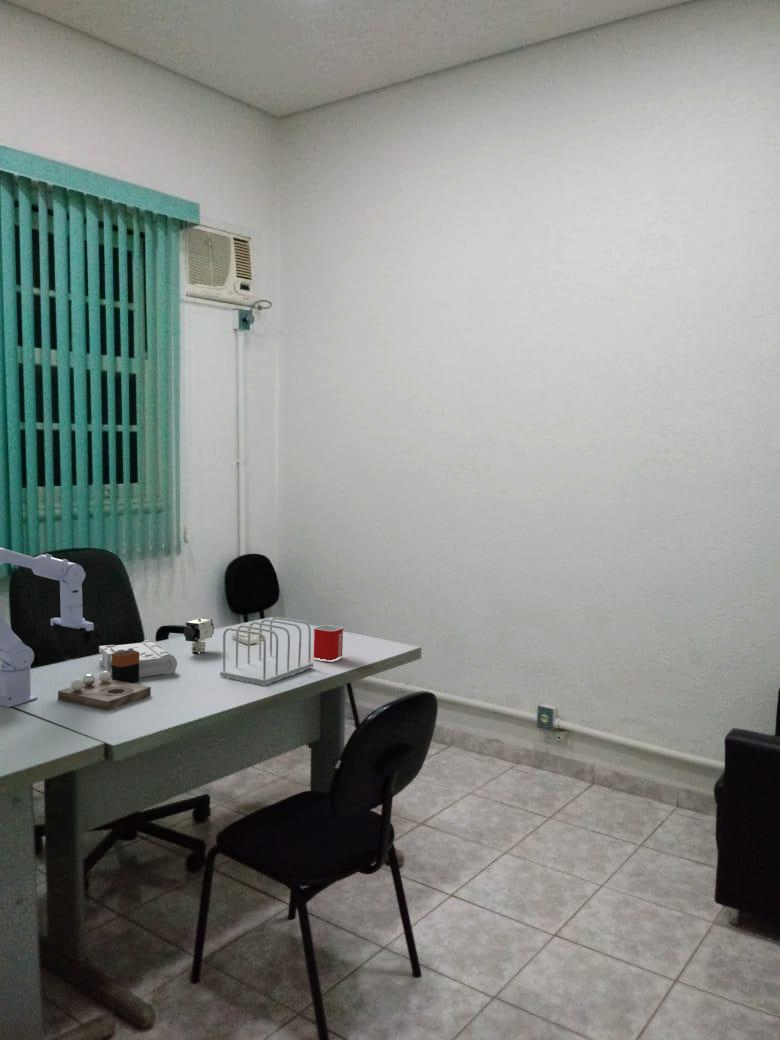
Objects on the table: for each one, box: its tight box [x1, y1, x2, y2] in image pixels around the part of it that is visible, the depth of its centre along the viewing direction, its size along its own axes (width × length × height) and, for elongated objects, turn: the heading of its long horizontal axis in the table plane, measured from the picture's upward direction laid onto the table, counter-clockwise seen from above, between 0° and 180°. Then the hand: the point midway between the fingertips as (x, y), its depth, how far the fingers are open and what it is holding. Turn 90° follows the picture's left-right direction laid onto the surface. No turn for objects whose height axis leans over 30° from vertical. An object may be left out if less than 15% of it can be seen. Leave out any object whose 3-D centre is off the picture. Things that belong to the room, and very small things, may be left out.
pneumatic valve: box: [183, 616, 215, 653], centre depth 281 cm, size 6×12×12 cm, turn 160°
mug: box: [313, 624, 344, 660], centre depth 280 cm, size 12×8×11 cm
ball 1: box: [70, 678, 84, 691], centre depth 225 cm, size 3×3×3 cm
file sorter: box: [219, 616, 314, 686], centre depth 258 cm, size 25×17×16 cm
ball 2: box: [98, 670, 112, 682], centre depth 234 cm, size 3×3×3 cm
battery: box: [111, 648, 140, 684], centre depth 242 cm, size 4×7×10 cm, turn 145°
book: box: [98, 639, 178, 678], centre depth 261 cm, size 19×28×8 cm
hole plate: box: [57, 678, 152, 712], centre depth 227 cm, size 16×18×2 cm
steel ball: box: [82, 673, 96, 686], centre depth 230 cm, size 3×3×3 cm
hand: (72, 653), depth 233 cm, fingers open, 7 cm apart
